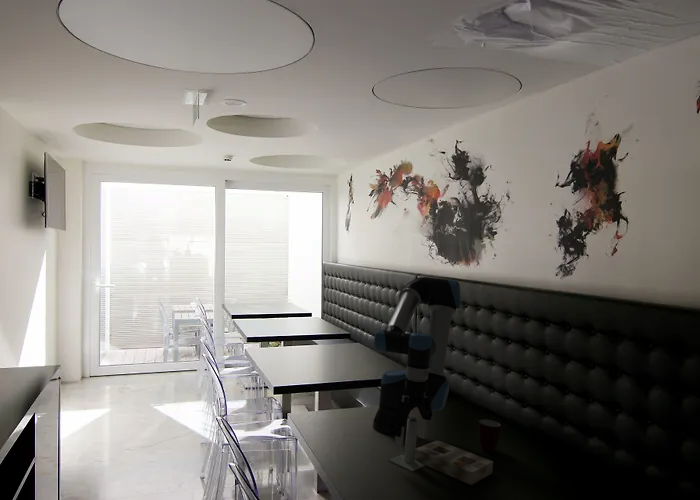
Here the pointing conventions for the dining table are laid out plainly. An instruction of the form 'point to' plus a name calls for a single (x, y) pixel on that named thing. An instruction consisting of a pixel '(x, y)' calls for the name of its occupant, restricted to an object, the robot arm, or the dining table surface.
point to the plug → (410, 440)
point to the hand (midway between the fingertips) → (410, 441)
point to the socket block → (454, 461)
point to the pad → (411, 467)
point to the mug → (488, 434)
